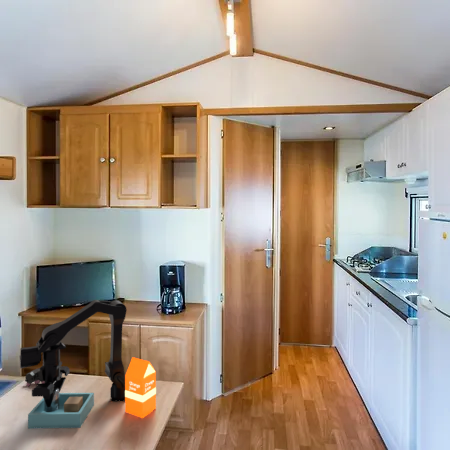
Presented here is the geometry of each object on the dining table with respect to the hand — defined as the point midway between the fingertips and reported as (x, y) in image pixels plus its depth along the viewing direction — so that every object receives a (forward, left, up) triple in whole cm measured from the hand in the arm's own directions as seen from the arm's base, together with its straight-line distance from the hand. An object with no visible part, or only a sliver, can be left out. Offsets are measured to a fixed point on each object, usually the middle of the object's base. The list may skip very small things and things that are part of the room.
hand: (52, 403), depth 135 cm
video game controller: (+16, -26, -5) cm, 31 cm away
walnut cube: (-8, 0, -4) cm, 9 cm away
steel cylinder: (0, 0, -2) cm, 2 cm away
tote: (-4, 0, -5) cm, 6 cm away
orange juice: (-32, -3, -5) cm, 33 cm away
